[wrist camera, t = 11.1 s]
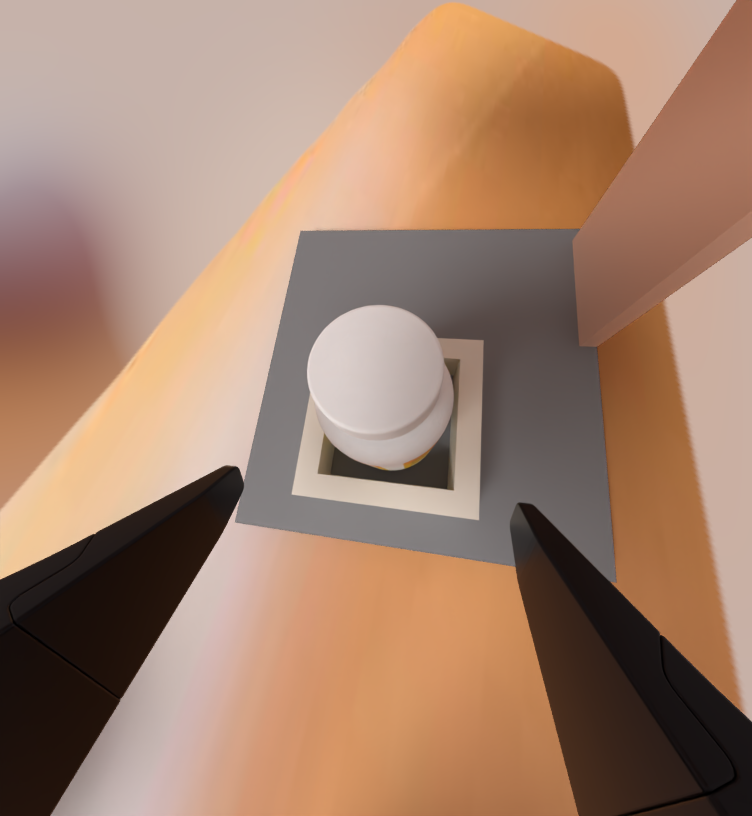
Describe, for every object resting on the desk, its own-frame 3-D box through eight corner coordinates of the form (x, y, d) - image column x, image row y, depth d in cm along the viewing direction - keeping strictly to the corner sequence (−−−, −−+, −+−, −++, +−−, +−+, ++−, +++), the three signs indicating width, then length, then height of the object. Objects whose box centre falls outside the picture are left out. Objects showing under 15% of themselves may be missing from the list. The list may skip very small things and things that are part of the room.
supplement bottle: (430, 381, 18) (455, 269, 8) (442, 466, 16) (490, 450, 7) (347, 390, 18) (282, 296, 9) (352, 474, 17) (281, 469, 7)
